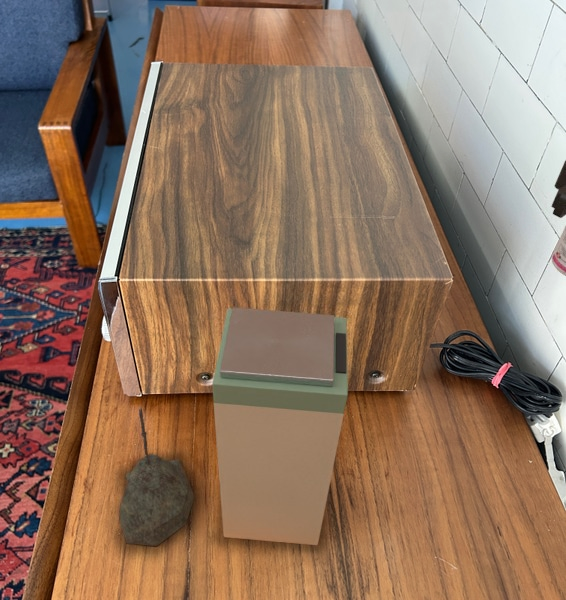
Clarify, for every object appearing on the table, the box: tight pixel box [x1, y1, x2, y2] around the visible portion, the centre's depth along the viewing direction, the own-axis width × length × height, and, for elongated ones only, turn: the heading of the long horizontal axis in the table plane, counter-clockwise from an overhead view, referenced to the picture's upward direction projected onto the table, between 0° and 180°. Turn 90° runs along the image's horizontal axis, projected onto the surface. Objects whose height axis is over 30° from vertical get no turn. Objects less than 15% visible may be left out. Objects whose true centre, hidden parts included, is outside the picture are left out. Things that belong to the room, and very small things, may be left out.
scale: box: [211, 306, 349, 415], centre depth 45 cm, size 10×8×3 cm
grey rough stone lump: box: [118, 408, 195, 547], centre depth 58 cm, size 10×8×12 cm
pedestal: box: [213, 402, 345, 546], centre depth 54 cm, size 10×8×24 cm
